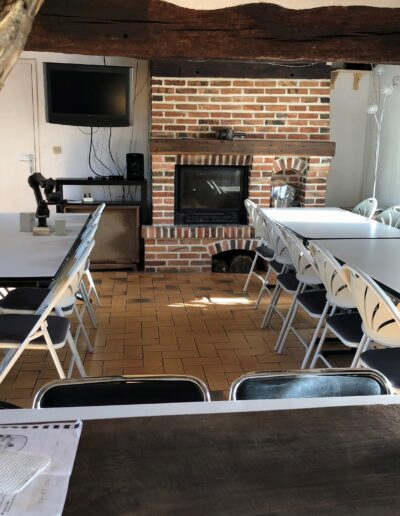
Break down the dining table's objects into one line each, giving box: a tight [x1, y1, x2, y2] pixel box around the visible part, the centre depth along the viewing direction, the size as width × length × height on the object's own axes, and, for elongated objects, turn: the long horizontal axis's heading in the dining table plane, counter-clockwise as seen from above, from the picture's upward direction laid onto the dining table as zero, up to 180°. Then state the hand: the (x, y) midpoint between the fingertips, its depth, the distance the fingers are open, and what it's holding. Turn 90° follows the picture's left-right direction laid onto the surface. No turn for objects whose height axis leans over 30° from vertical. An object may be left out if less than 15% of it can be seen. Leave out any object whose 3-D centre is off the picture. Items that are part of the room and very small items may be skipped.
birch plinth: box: [32, 226, 51, 237], centre depth 346 cm, size 10×10×4 cm
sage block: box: [54, 218, 67, 236], centre depth 347 cm, size 5×5×10 cm
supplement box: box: [19, 211, 36, 233], centre depth 355 cm, size 7×7×13 cm
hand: (56, 213), depth 350 cm, fingers open, 9 cm apart
